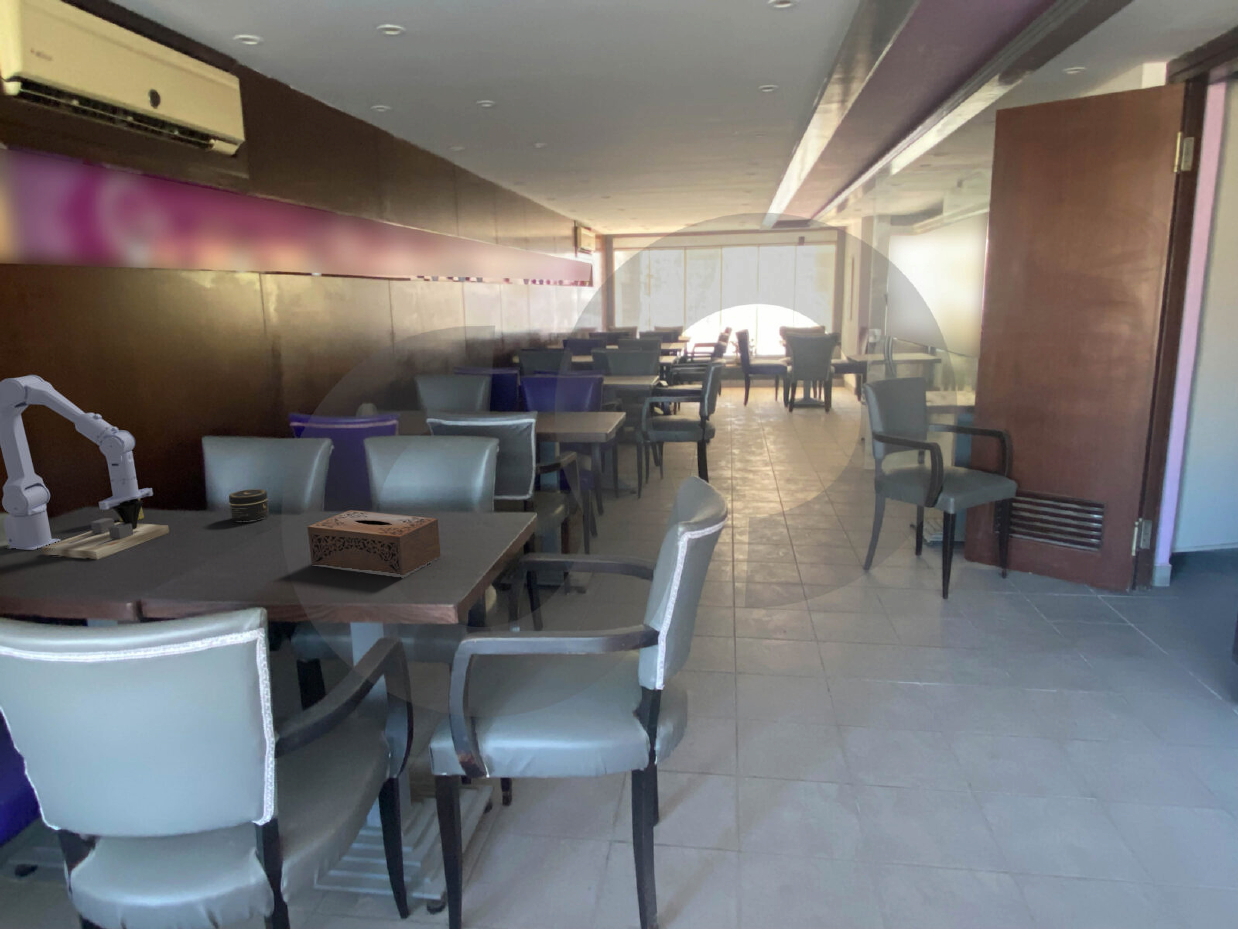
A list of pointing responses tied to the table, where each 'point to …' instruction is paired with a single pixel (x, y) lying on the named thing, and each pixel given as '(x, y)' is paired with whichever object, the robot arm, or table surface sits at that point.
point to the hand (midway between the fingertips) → (131, 528)
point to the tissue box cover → (374, 541)
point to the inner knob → (102, 525)
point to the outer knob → (121, 530)
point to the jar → (249, 505)
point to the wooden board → (103, 542)
